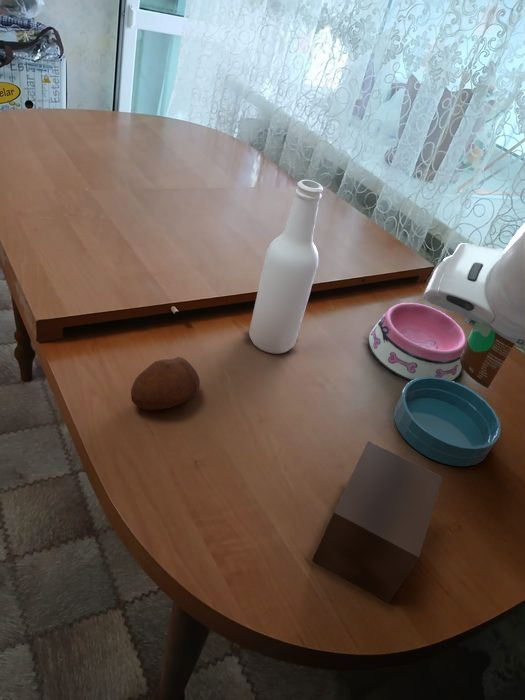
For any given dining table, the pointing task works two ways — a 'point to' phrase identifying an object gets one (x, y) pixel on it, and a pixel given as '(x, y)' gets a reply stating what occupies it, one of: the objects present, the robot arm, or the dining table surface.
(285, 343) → the alcohol
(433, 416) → the teal bowl
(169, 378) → the potato
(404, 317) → the dog bowl
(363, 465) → the stand
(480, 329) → the food container
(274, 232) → the dining table surface
